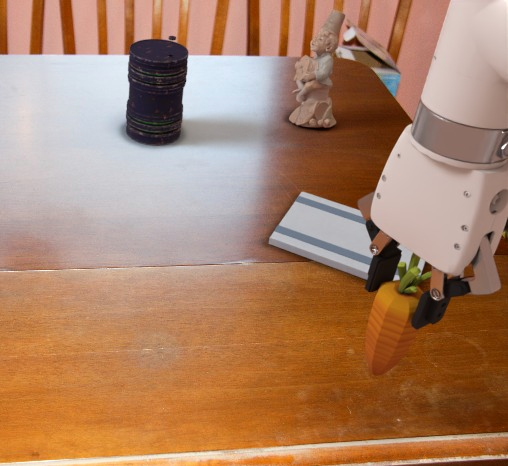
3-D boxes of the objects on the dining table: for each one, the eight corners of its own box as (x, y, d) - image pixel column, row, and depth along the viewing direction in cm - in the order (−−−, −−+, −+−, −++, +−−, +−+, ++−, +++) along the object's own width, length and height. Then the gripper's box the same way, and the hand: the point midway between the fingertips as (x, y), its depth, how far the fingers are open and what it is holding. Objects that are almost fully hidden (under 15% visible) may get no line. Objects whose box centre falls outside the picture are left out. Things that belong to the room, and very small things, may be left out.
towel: (431, 241, 94) (434, 234, 94) (412, 297, 84) (415, 289, 84) (300, 197, 101) (302, 190, 101) (268, 244, 91) (269, 236, 91)
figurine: (321, 109, 127) (345, 5, 115) (341, 130, 120) (369, 22, 108) (278, 112, 125) (299, 6, 112) (297, 133, 118) (321, 24, 106)
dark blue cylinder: (113, 128, 115) (116, 27, 104) (155, 113, 121) (162, 16, 110) (150, 151, 109) (158, 47, 99) (192, 135, 115) (204, 35, 104)
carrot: (369, 349, 70) (408, 236, 61) (409, 378, 67) (456, 263, 58) (340, 370, 67) (376, 255, 58) (381, 401, 64) (426, 284, 55)
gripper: (597, 168, 46) (504, 348, 57) (410, 81, 58) (362, 244, 69) (535, 194, 43) (448, 380, 54) (349, 95, 55) (308, 265, 65)
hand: (400, 302), depth 61 cm, fingers closed on carrot, 4 cm apart
